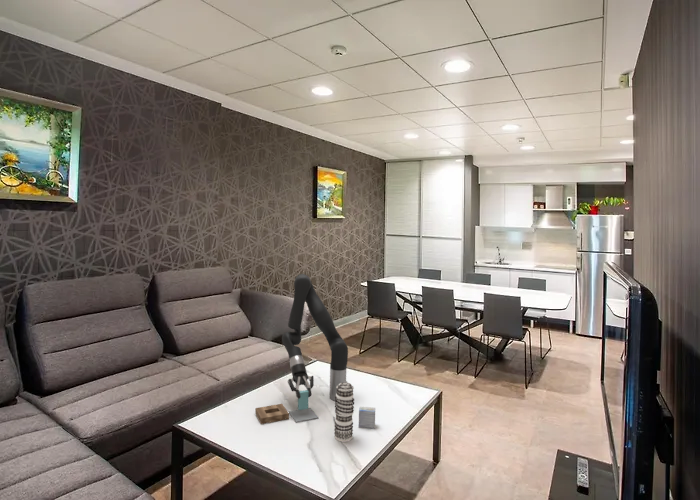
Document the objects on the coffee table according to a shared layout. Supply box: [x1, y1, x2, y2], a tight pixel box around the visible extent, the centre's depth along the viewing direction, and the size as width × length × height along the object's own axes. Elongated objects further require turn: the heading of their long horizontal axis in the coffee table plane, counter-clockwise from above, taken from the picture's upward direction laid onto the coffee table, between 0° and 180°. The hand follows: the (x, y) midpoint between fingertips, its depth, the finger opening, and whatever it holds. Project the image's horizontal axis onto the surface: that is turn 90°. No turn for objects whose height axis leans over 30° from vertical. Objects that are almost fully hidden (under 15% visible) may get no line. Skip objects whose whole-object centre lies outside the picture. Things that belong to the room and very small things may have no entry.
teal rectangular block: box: [297, 389, 310, 410], centre depth 213 cm, size 5×2×9 cm, turn 116°
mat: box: [287, 407, 319, 424], centre depth 213 cm, size 12×12×1 cm
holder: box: [254, 403, 290, 425], centre depth 211 cm, size 14×12×3 cm
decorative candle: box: [333, 381, 355, 443], centre depth 193 cm, size 9×9×25 cm
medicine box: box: [358, 406, 376, 429], centre depth 204 cm, size 8×4×9 cm, turn 84°
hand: (304, 397), depth 211 cm, fingers closed on teal rectangular block, 5 cm apart
